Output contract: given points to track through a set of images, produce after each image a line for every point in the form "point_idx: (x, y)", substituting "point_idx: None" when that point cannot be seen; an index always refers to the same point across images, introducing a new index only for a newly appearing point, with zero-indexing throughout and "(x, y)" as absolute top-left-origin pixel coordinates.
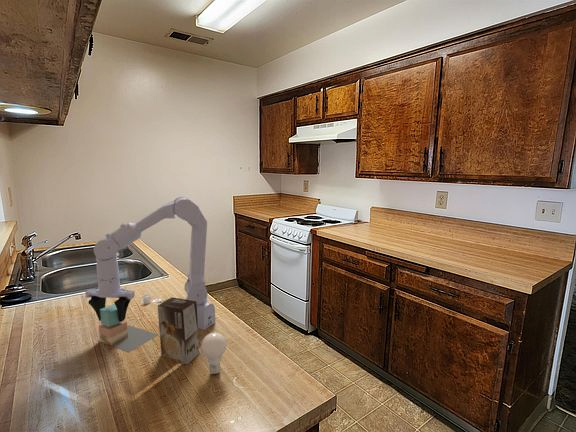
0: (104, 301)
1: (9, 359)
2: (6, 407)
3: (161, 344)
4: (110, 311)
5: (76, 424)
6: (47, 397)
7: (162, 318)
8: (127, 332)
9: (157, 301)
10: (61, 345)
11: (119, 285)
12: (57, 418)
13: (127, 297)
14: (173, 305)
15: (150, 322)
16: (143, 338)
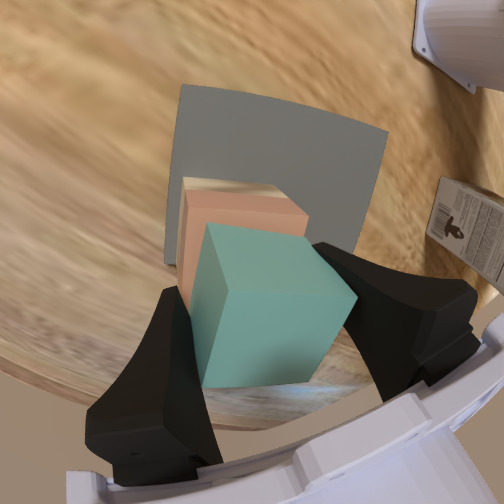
0: (175, 382)
1: (34, 383)
2: (220, 428)
3: (456, 255)
4: (311, 368)
5: (354, 390)
6: (265, 402)
7: None
8: (282, 193)
9: None
10: (51, 311)
11: (475, 473)
12: (322, 401)
13: (469, 358)
14: None
15: (253, 5)
16: (348, 175)
